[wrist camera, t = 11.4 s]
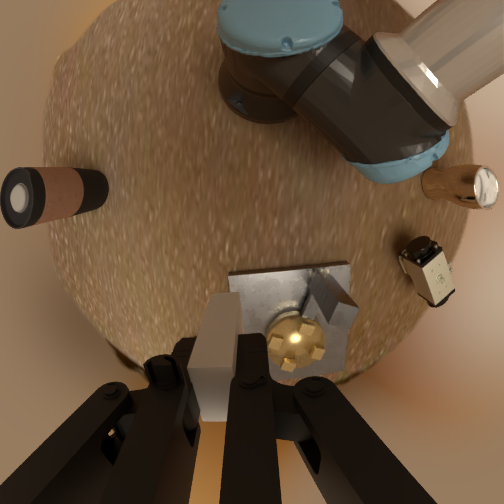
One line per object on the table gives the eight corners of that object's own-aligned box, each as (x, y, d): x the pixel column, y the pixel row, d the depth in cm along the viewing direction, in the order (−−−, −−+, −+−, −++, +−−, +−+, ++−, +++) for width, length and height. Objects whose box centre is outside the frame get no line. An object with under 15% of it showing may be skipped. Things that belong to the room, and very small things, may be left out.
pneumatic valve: (407, 291, 47) (441, 316, 36) (385, 241, 45) (421, 259, 33) (428, 274, 47) (464, 296, 35) (407, 225, 44) (446, 237, 33)
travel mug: (82, 216, 44) (6, 237, 24) (73, 177, 42) (-5, 181, 22) (114, 203, 43) (39, 218, 24) (104, 162, 41) (28, 156, 22)
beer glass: (445, 167, 42) (499, 168, 27) (445, 203, 43) (498, 213, 29) (419, 163, 42) (473, 160, 27) (419, 200, 43) (472, 209, 29)
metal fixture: (294, 261, 43) (311, 293, 30) (348, 280, 44) (381, 314, 31) (257, 351, 47) (259, 402, 34) (307, 364, 48) (322, 413, 35)
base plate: (229, 272, 46) (227, 276, 44) (346, 261, 46) (350, 264, 44) (242, 376, 51) (242, 383, 49) (341, 364, 51) (344, 371, 49)
